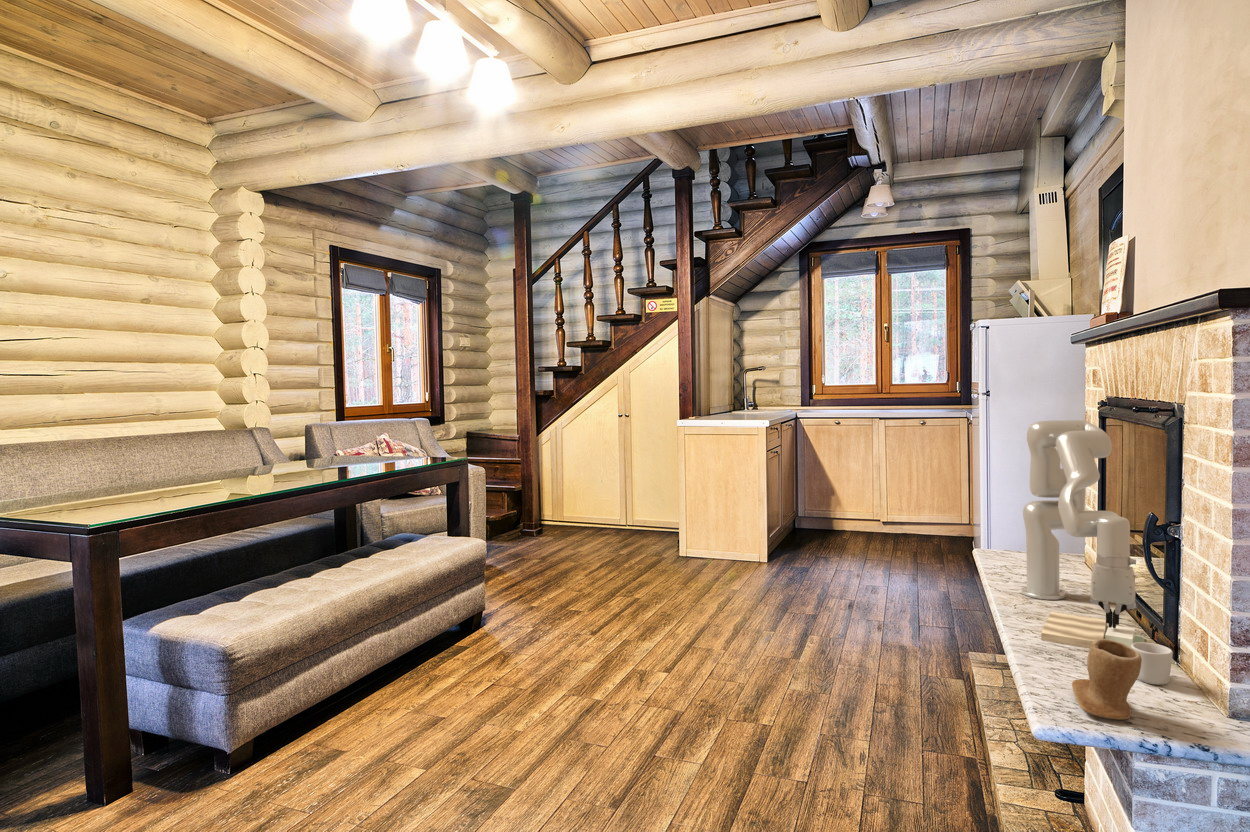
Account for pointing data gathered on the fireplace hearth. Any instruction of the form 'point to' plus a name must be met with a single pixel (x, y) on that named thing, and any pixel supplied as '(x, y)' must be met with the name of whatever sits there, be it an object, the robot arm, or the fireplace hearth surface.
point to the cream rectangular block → (1121, 635)
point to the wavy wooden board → (1073, 629)
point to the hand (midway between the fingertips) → (1112, 626)
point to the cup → (1154, 662)
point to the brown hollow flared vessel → (1108, 679)
